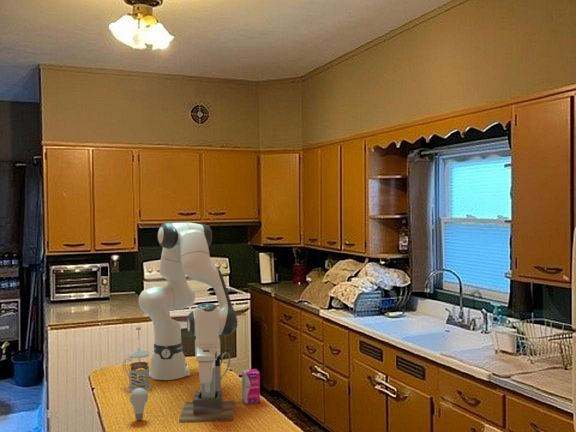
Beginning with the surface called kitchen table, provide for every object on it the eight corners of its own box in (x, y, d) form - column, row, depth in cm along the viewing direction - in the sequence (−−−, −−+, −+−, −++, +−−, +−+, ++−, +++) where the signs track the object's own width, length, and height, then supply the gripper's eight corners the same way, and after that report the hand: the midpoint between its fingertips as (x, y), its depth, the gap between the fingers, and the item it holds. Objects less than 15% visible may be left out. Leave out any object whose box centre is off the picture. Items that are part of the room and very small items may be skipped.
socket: (185, 404, 215) (185, 388, 215) (234, 402, 216) (234, 386, 216) (179, 422, 197) (179, 404, 197) (232, 420, 198) (232, 403, 198)
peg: (202, 401, 209) (202, 368, 209) (215, 401, 209) (214, 367, 209) (201, 405, 204) (201, 371, 204) (214, 405, 205) (213, 371, 204)
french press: (145, 392, 229) (144, 329, 229) (118, 391, 231) (117, 328, 231) (155, 385, 239) (155, 324, 238) (129, 383, 241) (128, 323, 241)
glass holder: (195, 390, 231) (194, 353, 231) (223, 382, 241) (222, 346, 241) (208, 395, 225) (208, 357, 224) (237, 387, 235) (236, 350, 234)
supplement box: (244, 405, 214) (244, 373, 214) (241, 399, 220) (241, 369, 219) (260, 403, 215) (260, 372, 215) (256, 398, 221) (256, 368, 221)
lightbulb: (150, 416, 203) (149, 385, 203) (146, 423, 197) (145, 390, 196) (132, 417, 203) (131, 385, 202) (128, 423, 196) (127, 391, 196)
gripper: (201, 343, 217) (202, 380, 217) (195, 357, 196) (196, 398, 196) (218, 343, 217) (219, 380, 217) (214, 357, 196) (215, 398, 197)
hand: (208, 389), depth 207 cm, fingers closed on peg, 4 cm apart
